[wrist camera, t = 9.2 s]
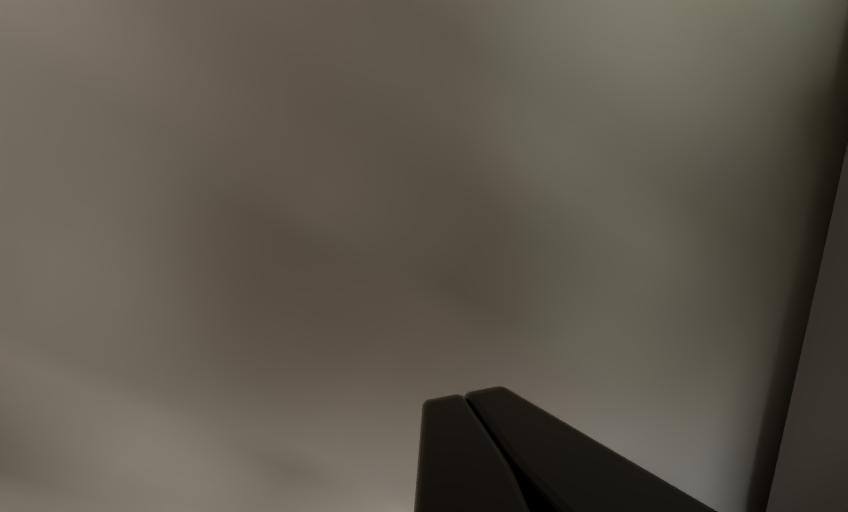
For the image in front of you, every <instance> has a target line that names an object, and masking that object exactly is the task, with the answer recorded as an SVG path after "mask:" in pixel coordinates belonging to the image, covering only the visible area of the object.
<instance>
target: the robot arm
mask: <svg viewBox="0 0 848 512" xmlns="http://www.w3.org/2000/svg"><path fill="white" fill-rule="evenodd" d="M414 512H717V511H715V510H714V509H712V508H710V507H708V506H707V505H705V504H703V503H702V502H700V501H698V500H696V499H695V498H693V497H691V496H690V495H688V494H686V493H684V492H683V491H681V490H679V489H678V488H676V487H674V486H673V485H671V484H669V483H667V482H666V481H664V480H662V479H661V478H659V477H657V476H655V475H654V474H652V473H650V472H649V471H647V470H645V469H643V468H642V467H640V466H638V465H637V464H635V463H633V462H632V461H630V460H628V459H626V458H625V457H623V456H621V455H620V454H618V453H616V452H614V451H613V450H611V449H609V448H608V447H606V446H604V445H603V444H601V443H599V442H597V441H596V440H594V439H592V438H591V437H589V436H587V435H585V434H584V433H582V432H580V431H579V430H577V429H575V428H573V427H572V426H570V425H568V424H567V423H565V422H563V421H562V420H560V419H558V418H556V417H555V416H553V415H551V414H550V413H548V412H546V411H544V410H543V409H541V408H539V407H538V406H536V405H534V404H533V403H531V402H529V401H527V400H526V399H524V398H522V397H521V396H519V395H517V394H515V393H514V392H512V391H510V390H509V389H507V388H504V387H492V388H487V389H482V390H476V391H471V392H468V393H467V394H466V395H465V396H464V397H463V396H461V395H450V396H445V397H440V398H434V399H429V400H426V401H425V402H424V404H423V407H422V418H421V431H420V443H419V456H418V468H417V481H416V494H415V506H414Z"/></svg>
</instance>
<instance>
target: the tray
mask: <svg viewBox="0 0 848 512" xmlns="http://www.w3.org/2000/svg"><path fill="white" fill-rule="evenodd" d="M766 512H848V144H847V148H846V153H845V157H844V162H843V166H842V171H841V175H840V180H839V184H838V189H837V193H836V198H835V202H834V207H833V212H832V216H831V221H830V225H829V230H828V234H827V239H826V243H825V248H824V252H823V257H822V261H821V266H820V270H819V275H818V279H817V284H816V288H815V293H814V297H813V302H812V306H811V311H810V315H809V320H808V324H807V329H806V333H805V338H804V342H803V347H802V351H801V356H800V360H799V365H798V369H797V374H796V378H795V383H794V387H793V392H792V396H791V401H790V405H789V410H788V414H787V419H786V424H785V428H784V433H783V437H782V442H781V446H780V451H779V455H778V460H777V464H776V469H775V473H774V478H773V482H772V487H771V491H770V496H769V500H768V505H767V509H766Z"/></svg>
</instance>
